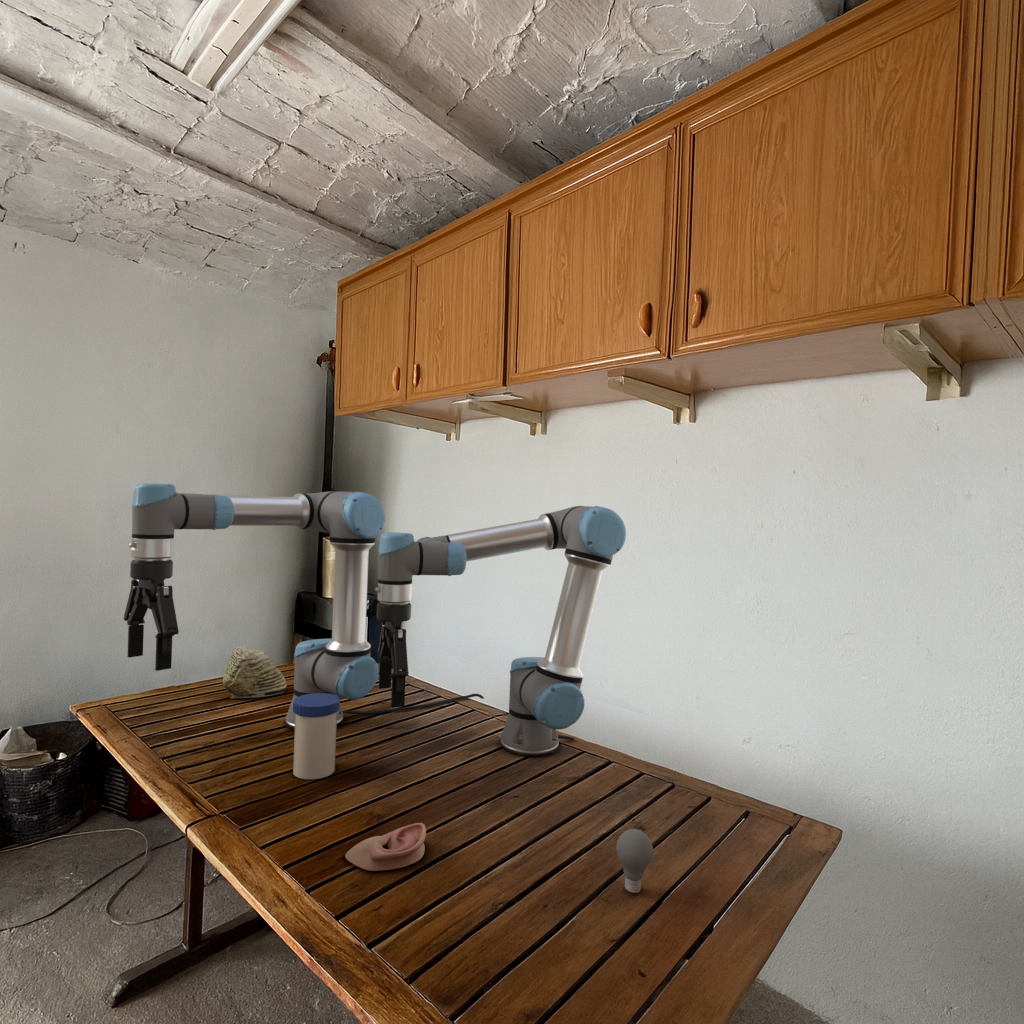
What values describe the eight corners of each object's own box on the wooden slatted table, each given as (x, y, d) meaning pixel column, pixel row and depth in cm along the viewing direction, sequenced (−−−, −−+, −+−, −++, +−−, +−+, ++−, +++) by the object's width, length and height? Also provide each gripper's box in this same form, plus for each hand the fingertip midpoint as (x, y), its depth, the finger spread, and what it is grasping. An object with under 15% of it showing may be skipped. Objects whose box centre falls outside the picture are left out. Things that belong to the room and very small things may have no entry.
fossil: (218, 695, 195) (220, 647, 195) (278, 685, 208) (279, 640, 207) (228, 703, 189) (230, 653, 188) (289, 692, 201) (290, 645, 201)
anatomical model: (337, 842, 109) (366, 811, 120) (336, 865, 109) (365, 832, 120) (410, 854, 106) (432, 821, 117) (409, 878, 106) (432, 842, 118)
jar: (303, 760, 151) (306, 693, 151) (341, 764, 150) (343, 697, 150) (285, 777, 142) (288, 706, 142) (325, 781, 141) (327, 709, 141)
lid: (305, 700, 152) (305, 691, 152) (346, 704, 150) (346, 694, 150) (284, 715, 141) (285, 704, 141) (328, 719, 140) (329, 708, 140)
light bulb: (610, 879, 108) (613, 822, 108) (644, 879, 109) (647, 822, 109) (619, 902, 102) (622, 840, 102) (655, 901, 103) (658, 840, 103)
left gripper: (108, 554, 134) (104, 654, 134) (159, 565, 118) (155, 678, 119) (146, 552, 140) (143, 648, 140) (199, 563, 124) (195, 671, 124)
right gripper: (367, 593, 151) (364, 682, 151) (389, 612, 128) (385, 717, 128) (398, 593, 154) (395, 679, 154) (425, 611, 131) (421, 713, 131)
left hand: (148, 662), depth 129 cm, fingers open, 13 cm apart
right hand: (390, 697), depth 141 cm, fingers open, 13 cm apart
